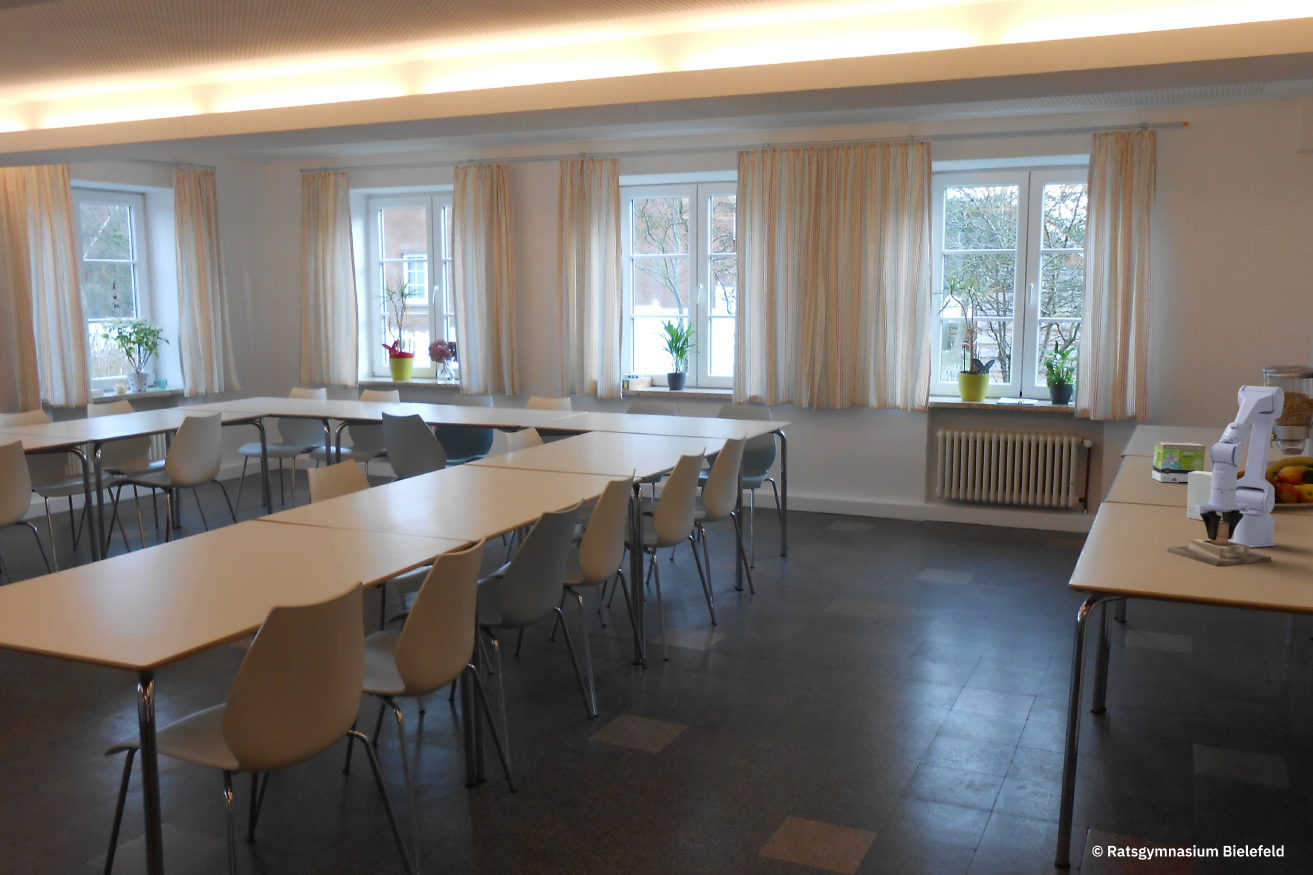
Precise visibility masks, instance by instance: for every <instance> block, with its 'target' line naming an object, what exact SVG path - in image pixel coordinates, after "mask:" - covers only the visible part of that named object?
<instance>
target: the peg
mask: <svg viewBox="0 0 1313 875" xmlns="http://www.w3.org/2000/svg"><path fill="white" fill-rule="evenodd" d="M1228 536H1229V523H1227V522H1223V520H1220V522H1219V525H1218V530H1217V538H1216V540H1211V543H1210V544H1213V545H1217V546H1228V540H1229V539H1228Z"/></svg>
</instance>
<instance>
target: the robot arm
mask: <svg viewBox="0 0 1313 875" xmlns="http://www.w3.org/2000/svg"><path fill="white" fill-rule="evenodd" d="M1284 402H1285V393H1284V390H1283V388H1282V387H1281V386H1264V385H1263V386H1260V385H1257V386H1256V385H1247V384H1244V385H1242V386H1240V388H1239V389H1238V392H1237V403H1238V407H1239V410H1238V411H1237V414H1236V417H1235V420H1234V422H1230V423H1229V424H1227V426H1226V427H1225V430H1224V431H1223V434H1222V436H1221V437H1220V439H1219V440H1218V442H1216V443H1213V444H1212V445H1211V447H1210V449H1209V454H1208V455H1209V462H1210V466H1209V467H1210V468H1209V469H1210V470H1211V472H1212V482H1211V496H1210V502H1209V503H1207V504H1201V505H1195V512H1196V513H1200V515H1201V517H1202V519H1203V520H1202V521H1203V523H1204V526H1205V530H1206V534H1207V539H1211V540H1216V538H1217V530H1218V525H1219V522H1220V521H1221V520H1222V522H1227V523H1229V536H1228V540H1229V541H1233V542H1237V543H1241V544H1245V545H1248V546H1250V549H1251V548H1262V547H1263V548H1264V547H1272V546H1276V543H1274V532H1275V519H1274V517H1273V516H1272V514H1270V513H1271V512H1272V511H1273V509H1274V508H1275V500H1276V498H1275V492H1276V490H1275V486H1274V485H1273V484H1272V483H1271V482H1269V481H1268V480H1267V479H1266V471H1267V465H1268V459H1269V453H1270V446H1271V439H1272V433H1273V428H1274V424H1275V420H1276V419H1279V418H1280V419H1281V417H1282V413H1283V410H1284V404H1285V403H1284ZM1250 426H1252V427H1251V429H1250ZM1249 437H1250V440H1249V445H1248V450H1247V451H1248V453H1247V458H1246V465H1245V471H1244V472H1245V473H1244V476H1243V477H1240V478H1239V479H1238V469H1239V466H1240V464H1242V460H1243V456H1244V453H1245V448H1244V447H1245V445H1246V443H1247V441H1248V439H1249ZM1260 489H1261V490H1260ZM1216 512H1221V513H1222V516H1219V515H1217V514H1216ZM1221 517H1222V519H1221ZM1220 519H1221V520H1220Z"/></svg>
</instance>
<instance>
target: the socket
mask: <svg viewBox="0 0 1313 875" xmlns="http://www.w3.org/2000/svg"><path fill="white" fill-rule="evenodd" d="M1229 540H1230V539H1228V546H1217V545H1213V544H1210V543H1211V539H1208V538H1198V539H1197V538H1196V539H1189V540H1188V545H1184V546H1182V545H1181V546H1171V547H1167V552H1168V551H1169V552H1168V553H1171V552H1172V554H1175V555H1177V556H1182V557H1186V558H1189V559H1192V560H1196V561H1199V562H1202V563H1206V564H1209V565H1212V566H1215V567H1217V566H1218V567H1219V566H1228V565H1230V566H1231V565H1239V564H1240V565H1242V564H1249V563H1262V562H1270V561H1272V556H1269V555H1266V554H1262V553H1258V552H1254V551H1251V548H1250V546H1248V545H1245V544H1241V543H1237V542H1233V541H1229Z"/></svg>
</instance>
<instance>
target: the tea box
mask: <svg viewBox="0 0 1313 875" xmlns="http://www.w3.org/2000/svg"><path fill="white" fill-rule="evenodd" d="M1205 455H1206V446H1205V445H1204V444H1200V443H1198V442H1195V441H1194V442H1192V441H1191V442H1188V441H1167V440H1166V441H1165V440H1164V441H1161V440H1155V441H1154V450H1153V459H1152V460H1153V461H1152V462H1153V463H1152V474H1151V478H1152V479H1153V478H1154V480H1155V479H1156V480H1155V481H1157V480H1158V482H1159V481H1160V482H1159V483H1179V482H1188V473H1189V472H1193V471H1204V467H1205V466H1204V465H1205Z"/></svg>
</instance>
